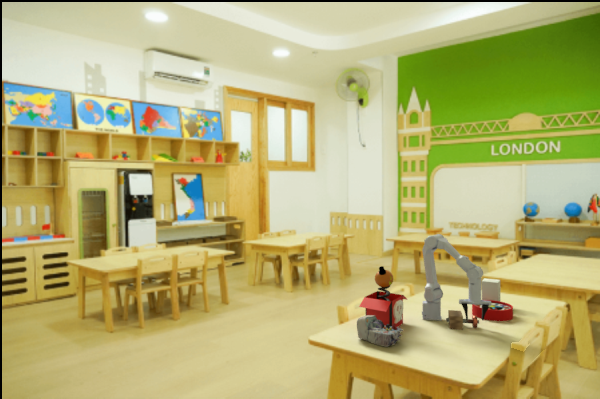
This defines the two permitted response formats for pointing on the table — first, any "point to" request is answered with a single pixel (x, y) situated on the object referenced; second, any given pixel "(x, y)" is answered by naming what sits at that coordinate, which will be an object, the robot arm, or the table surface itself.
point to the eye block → (455, 319)
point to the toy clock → (494, 311)
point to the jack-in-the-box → (384, 301)
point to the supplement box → (491, 289)
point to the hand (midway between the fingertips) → (474, 319)
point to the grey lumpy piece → (377, 331)
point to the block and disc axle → (470, 321)
